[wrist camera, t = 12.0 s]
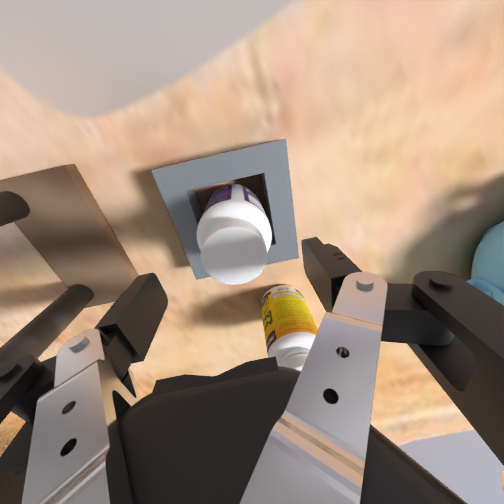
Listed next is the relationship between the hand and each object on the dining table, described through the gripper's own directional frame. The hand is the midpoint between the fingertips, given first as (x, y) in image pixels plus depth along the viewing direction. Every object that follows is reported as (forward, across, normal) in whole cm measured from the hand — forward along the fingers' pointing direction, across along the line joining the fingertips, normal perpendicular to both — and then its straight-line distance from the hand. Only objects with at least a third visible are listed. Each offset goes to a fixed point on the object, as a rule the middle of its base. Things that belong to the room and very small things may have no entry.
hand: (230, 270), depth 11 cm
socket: (+11, 0, 0) cm, 11 cm away
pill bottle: (+11, 0, 0) cm, 11 cm away
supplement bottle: (+11, -3, +13) cm, 17 cm away
